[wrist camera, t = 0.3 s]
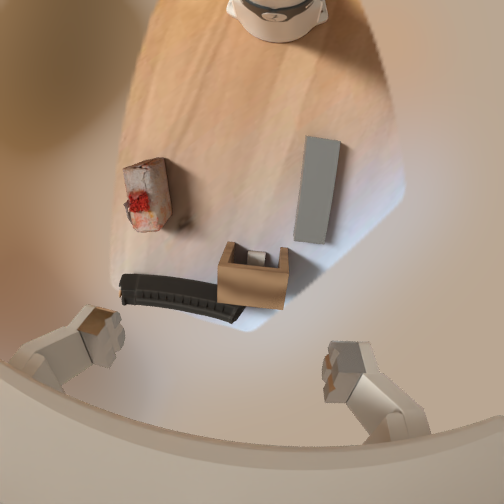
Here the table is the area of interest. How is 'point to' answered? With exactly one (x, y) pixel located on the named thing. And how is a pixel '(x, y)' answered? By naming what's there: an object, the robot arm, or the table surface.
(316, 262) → the table surface
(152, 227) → the food item
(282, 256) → the wooden arch
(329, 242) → the table surface
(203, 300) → the magazine
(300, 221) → the grey channel riser
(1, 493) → the robot arm
